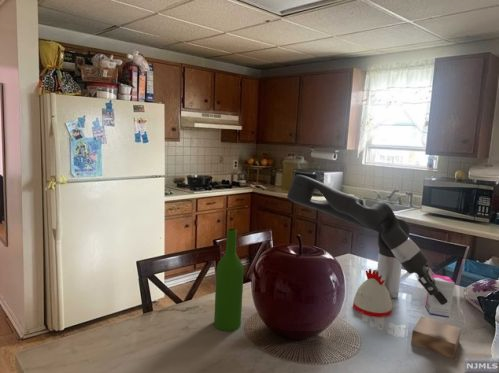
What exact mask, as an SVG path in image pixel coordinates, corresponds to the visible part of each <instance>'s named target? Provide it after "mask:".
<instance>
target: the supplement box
mask: <svg viewBox="0 0 499 373" xmlns="http://www.w3.org/2000/svg"><path fill="white" fill-rule="evenodd" d="M432 277H433V278H434V280H435V283H436V284H435V285H436V286H437V287H438V289H439V290H440V292H441V293H442V294H443V295H444V297H445V298H446V299H447V303H445V304H444V305H441V304H440V303H439V301H438V300H437V299H436V298H435V296H434V295H430V294H429V293H428V292H427V294H426V300H425V306H424V308H425V310H426V311H427V313H428V314H429V316H435V317H439V318H449V319H450V313H451V308H452V301H453V298H454V290H455V284H456V282H455V281H454V280H452V279H451V277H450V276H447V275H439V274H435V275H432ZM431 290H433V288H432V287H431Z"/></svg>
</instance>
